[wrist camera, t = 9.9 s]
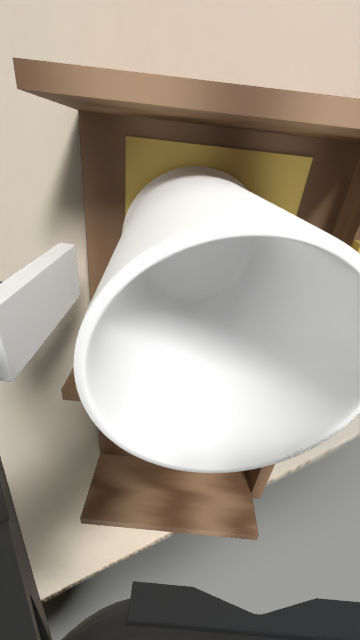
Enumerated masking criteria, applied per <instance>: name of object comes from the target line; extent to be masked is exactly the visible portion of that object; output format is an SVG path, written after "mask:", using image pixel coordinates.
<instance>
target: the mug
mask: <svg viewBox="0 0 360 640" xmlns="http://www.w3.org/2000/svg"><path fill="white" fill-rule="evenodd" d="M74 378H75V383H76V388H77V391H78V394H79V397H80V400H81V402H82V404H83V406H84V408H85V410H86V412H87V414H88V415H89V417H90V418H91V420H92V421H93V422H94V424H95V425H96V426H97V427H98V428H99V429H100V431H101V432H102V433H103V434H104V435H105V436H107V437H108V438H109V439H110V440H111V441H112V442H114V443H115V444H116V445H118V446H119V447H121V448H122V449H124V450H125V451H127V452H129V453H131V454H132V455H134V456H136V457H138V458H141V459H143V460H145V461H148V462H150V463H153V464H156V465H159V466H163V467H166V468H171V469H175V470H181V471H187V472H197V473H229V472H239V471H246V470H251V469H256V468H261V467H265V466H269V465H272V464H276V463H279V462H282V461H285V460H287V459H290V458H292V457H295V456H297V455H299V454H302V453H304V452H306V451H308V450H310V449H312V448H314V447H315V446H317V445H319V444H321V443H322V442H324V441H326V440H327V439H329V438H330V437H332V436H333V435H334V434H336V433H337V432H339V431H340V430H341V429H342V428H344V427H345V426H346V425H347V424H348V423H349V422H351V421H352V420H353V419H354V418H355V417H356V416H357V415H358V414H359V413H360V254H359V253H358V252H357V251H355V250H354V249H353V248H351V247H350V246H348V245H347V244H345V243H344V242H342V241H341V240H339V239H337V238H336V237H334V236H332V235H330V234H329V233H327V232H325V231H323V230H321V229H319V228H317V227H316V226H314V225H312V224H310V223H308V222H306V221H304V220H302V219H300V218H299V217H297V216H295V215H293V214H291V213H289V212H287V211H285V210H284V209H282V208H280V207H278V206H276V205H274V204H272V203H270V202H268V201H267V200H265V199H263V198H261V197H259V196H257V195H255V194H253V193H252V192H250V191H249V190H248V189H247V188H246V187H245V186H244V185H243V184H242V183H241V182H239V181H238V180H237V179H235V178H234V177H232V176H231V175H229V174H227V173H225V172H223V171H220V170H217V169H214V168H209V167H203V166H188V167H182V168H177V169H174V170H171V171H168V172H166V173H164V174H162V175H160V176H158V177H157V178H155V179H154V180H152V181H151V182H150V183H148V184H147V185H146V186H145V187H144V188H143V189H142V190H141V191H140V192H139V193H138V195H137V196H136V197H135V199H134V200H133V202H132V204H131V205H130V207H129V209H128V212H127V214H126V217H125V220H124V224H123V229H122V236H121V238H120V240H119V242H118V244H117V246H116V249H115V251H114V253H113V255H112V257H111V259H110V262H109V264H108V266H107V268H106V270H105V272H104V274H103V277H102V279H101V281H100V283H99V285H98V287H97V290H96V292H95V294H94V296H93V298H92V300H91V303H90V305H89V307H88V309H87V311H86V314H85V316H84V318H83V321H82V323H81V326H80V329H79V332H78V335H77V339H76V344H75V350H74Z"/></svg>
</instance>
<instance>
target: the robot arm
mask: <svg viewBox="0 0 360 640" xmlns="http://www.w3.org/2000/svg"><path fill="white" fill-rule="evenodd" d="M79 297H80V290H79V278H78V266H77V254H76V244H67V243H59V244H57V245H56V246H54V247H53V248H51V249H50V250H48V251H47V252H46V253H44V254H43V255H41V256H40V257H38V258H37V259H35V260H34V261H33V262H31V263H30V264H28V265H27V266H25V267H24V268H22V269H21V270H19V271H18V272H17V273H15V274H14V275H12V276H11V277H9V278H8V279H6V280H5V281H4V282H0V381H6V382H13V381H14V380H15V378H16V377H17V376H18V375H19V373H20V372H21V371H22V370H23V368H24V367H25V366H26V364H27V363H28V362H29V361H30V359H31V358H32V357H33V355H34V354H35V353H36V352H37V350H38V349H39V348H40V346H41V345H42V344H43V343H44V341H45V340H46V339H47V337H48V336H49V335H50V334H51V332H52V331H53V330H54V329H55V327H56V326H57V325H58V323H59V322H60V321H61V320H62V318H63V317H64V316H65V314H66V313H67V312H68V311H69V309H70V308H71V307H72V305H73V304H74V303H75V302H76V300H77V299H78V298H79ZM0 640H52V638H51V634H50V630H49V627H48V623H47V620H46V616H45V613H44V610H43V607H42V603H41V600H40V597H39V594H38V591H37V587H36V584H35V580H34V577H33V573H32V569H31V566H30V562H29V559H28V555H27V551H26V548H25V544H24V541H23V537H22V533H21V530H20V526H19V522H18V519H17V515H16V512H15V508H14V504H13V501H12V497H11V494H10V490H9V486H8V483H7V479H6V475H5V472H4V468H3V465H2V461H1V457H0ZM62 640H360V602H350V601H339V600H328V599H318V598H316V599H313V600H310V601H306V602H303V603H299V604H296V605H293V606H289V607H286V608H283V609H279V610H276V611H273V612H269V613H266V614H262V615H258V614H253V613H251V612H248V611H246V610H243V609H241V608H239V607H237V606H234V605H232V604H230V603H228V602H226V601H223V600H221V599H219V598H216V597H214V596H212V595H210V594H208V593H205V592H203V591H201V590H199V589H196V588H194V587H188V586H187V587H186V586H177V585H166V584H156V583H145V582H134V581H133V585H132V591H131V598H130V599H127V600H123V601H120V602H116V603H114V604H112V605H109V606H107V607H105V608H103V609H101V610H99V611H97V612H96V613H94V614H93V615H91V616H89V617H88V618H86V619H85V620H84V621H82V622H81V623H80V624H79V625H77V626H76V627H75V628H74V629H72V630H71V631H70V632H69V633H68V634H67V635H66V636H65V637H64V638H63V639H62Z"/></svg>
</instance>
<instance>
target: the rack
mask: <svg viewBox="0 0 360 640" xmlns="http://www.w3.org/2000/svg"><path fill="white" fill-rule="evenodd" d="M13 63H14V70H15V77H16V83H17V89H20V90H23V91H25V92H28V93H31V94H34V95H37V96H40V97H43V98H45V99H48V100H51V101H54V102H57V103H60V104H63V105H66V106H68V107H71V108H74V109H77V110H78V114H79V129H80V145H81V160H82V176H83V192H84V207H85V223H86V238H87V254H88V270H89V285H90V301H91V300H92V298H93V296H94V294H95V292H96V290H97V287H98V285H99V283H100V281H101V279H102V277H103V274H104V272H105V270H106V268H107V266H108V264H109V262H110V259H111V257H112V255H113V253H114V251H115V249H116V246H117V244H118V242H119V240H120V238H121V236H122V229H123V224H124V220H125V217H126V214H127V212H128V209H129V207H130V205H131V204H132V202H133V200H134V199H135V197H136V196H137V195H138V193H139V192H140V191H141V190H142V189H143V188H144V187H145V186H146V185H147V184H148V183H150V182H151V181H152V180H154V179H155V178H157V177H158V176H160V175H162V174H164V173H166V172H168V171H171V170H174V169H177V168H182V167H188V166H203V167H209V168H214V169H217V170H220V171H223V172H225V173H227V174H229V175H231V176H232V177H234V178H235V179H237V180H238V181H239V182H241V183H242V184H243V185H244V186H245V187H246V188H247V189H248V190H249V191H250V192H252V193H253V194H255V195H257V196H259V197H261V198H263V199H265V200H267V201H268V202H270V203H272V204H274V205H276V206H278V207H280V208H282V209H284V210H285V211H287V212H289V213H291V214H293V215H295V216H297V217H299V218H300V219H302V220H304V221H306V222H308V223H310V224H312V225H314V226H316V227H317V228H319V229H321V230H323V231H325V232H327V233H329V234H330V235H332V236H334V237H336V238H337V239H339V240H341V241H342V242H344V243H345V244H347V245H348V246H350V247H351V248H353V249H354V250H355V251H357V252H358V253H359V254H360V99H356V98H348V97H340V96H331V95H323V94H315V93H306V92H298V91H289V90H281V89H273V88H264V87H256V86H247V85H239V84H231V83H222V82H214V81H205V80H197V79H189V78H180V77H172V76H164V75H155V74H147V73H138V72H130V71H122V70H113V69H105V68H96V67H88V66H80V65H71V64H63V63H55V62H46V61H38V60H29V59H21V58H13ZM61 390H62V397H63V399H64V400H74V401H81V400H80V397H79V394H78V391H77V388H76V383H75V378H74V368H73V369H72V371H71V373H70V375H69V377H68V378H67V380H66V382H65V384H64V386H63V387H62V389H61ZM99 441H100V456H99V459H98V463H97V466H96V469H95V472H94V476H93V479H92V482H91V485H90V489H89V492H88V495H87V498H86V502H85V505H84V508H83V511H82V515H81V518H80V520H81V523H84V524H94V525H105V526H115V527H125V528H136V529H146V530H157V531H167V532H178V533H188V534H199V535H209V536H221V537H230V538H241V539H252V540H257V538H258V529H257V523H256V517H255V512H254V505H253V499H252V498H258V499H260V497H261V495H262V493H263V491H264V488H265V486H266V484H267V481H268V479H269V477H270V475H271V472H272V470H273V468H274V465H275V464H272V465H269V466H265V467H261V468H256V469H251V470H246V471H239V472H229V473H197V472H187V471H181V470H175V469H171V468H166V467H163V466H159V465H156V464H153V463H150V462H148V461H145V460H143V459H141V458H138V457H136V456H134V455H132V454H131V453H129V452H127V451H125V450H124V449H122V448H121V447H119V446H118V445H116V444H115V443H114V442H112V441H111V440H110V439H109V438H108V437H107V436H105V435H104V434H103V433H102V432H101V431H100V429H99Z"/></svg>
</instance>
